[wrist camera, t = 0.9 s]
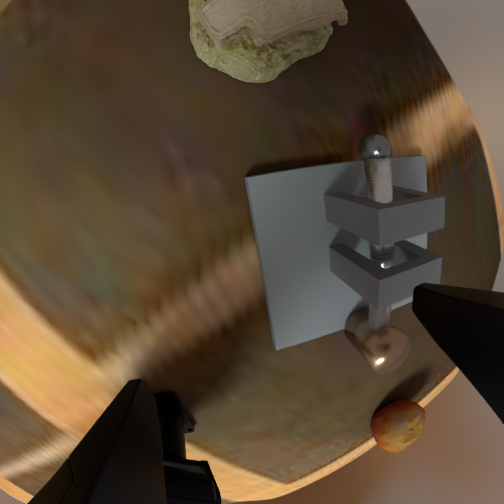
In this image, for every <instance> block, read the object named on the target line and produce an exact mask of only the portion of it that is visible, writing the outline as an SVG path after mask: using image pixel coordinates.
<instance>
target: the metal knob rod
mask: <svg viewBox="0 0 504 504" xmlns="http://www.w3.org/2000/svg"><path fill="white" fill-rule="evenodd" d="M359 150H360V154H361V156H362V157H363V159H364V168H365V177H366V188H367V199H370V200H374V201H378V202H381V203H389V202H393V185H392V172H391V161H390V157H391V154H392V145H391V142H390V140H389V139H388V138H387V137H386V136H385V135H384V134H382V133H380V132H369V133H367V134H365V135H364V136H363V137H362V139H361V140H360V144H359ZM370 260H372V261H373V262H375V263H377V264H378V265H380V266H382V267H383V268H385V269H386V268H389V267H392V266H394V243H391V244H388V245H384V246H381V247H379V246H377V245H375V244H373V243H371V242H370ZM390 316H391V305H390V306H388V307H385V308H383V309H380V310H377V309H375V308H374V307H373V306H372V305H371V304H370V303H369V307H363V308H360V309H359V310H357V311H355V312H354V313H353V314H352V315H351V316H350V317H349V319H348V321H347V322H346V325H345V329H344V333H345V336H346V338H347V339H348V340H349V341H350V342H351V343H352V345H353V346H354V347H355V348H356V349H357V350H358V352H359V353H360V354H361V355H362V356H363V357H364V359H365V360H366V361H367V362H368V363H369V364H370V366H371V367H372V368H373V369H374V370H375V371H376V373H377V374H379V375H385V374H389V373H391V372H393V371H394V370H396V369H397V368H398V367H399V366H400V365H401V364H402V363H403V362H404V361H405V360H406V358H407V356H408V355H409V352H410V349H411V341H410V340H409V339H408V338H407V337H406V336H405V335H404V334H403V333H401V332H400V331H399V330H398V329H397V328H396V327H395V326H393V325H392V324H391V323H390Z"/></svg>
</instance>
